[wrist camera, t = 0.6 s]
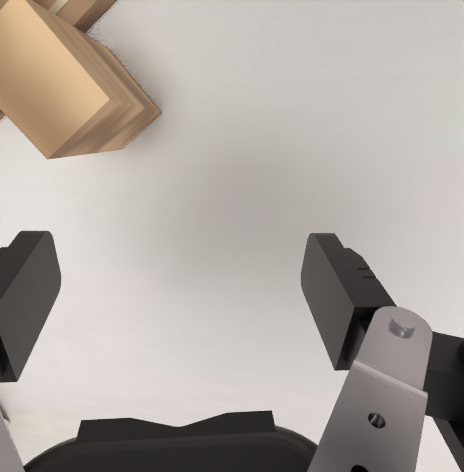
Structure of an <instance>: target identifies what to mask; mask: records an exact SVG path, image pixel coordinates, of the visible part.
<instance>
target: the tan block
mask: <svg viewBox="0 0 464 472" xmlns="http://www.w3.org/2000/svg"><path fill="white" fill-rule="evenodd" d="M0 109H1V110H2V111H3V112H4V113H5V114H6V115H7V117H8V118H9V119H10V120H11V121H12V122H13V123H14V124H15V125H16V126H17V127H18V128H19V129H20V131H21V132H22V133H23V134H24V135H25V136H26V137H27V138H28V139H29V140H30V141H31V142H32V143H33V144H34V146H35V147H36V148H37V149H38V150H39V151H40V152H41V153H42V154H43V155H44V156H45V157H46V158H47V159H54V158H61V157H69V156H76V155H83V154H91V153H98V152H106V151H113V150H121V149H123V148H124V147H125V146H126V145H127V144H128V143H129V142H130V141H132V140H133V139H134V138H135V137H136V136H137V135H138V134H139V133H140V132H141V131H142V130H144V129H145V128H146V127H147V126H148V125H149V124H150V123H151V122H152V121H153V120H155V119H156V118H157V117H158V116H159V115H160V114H161V113H162V112H161V111H160V110H159V108H158V107H157V106H156V105H155V103H154V102H153V101H152V100H151V99H150V97H149V96H148V95H147V94H146V93H145V91H144V90H143V89H142V88H141V87H140V85H139V84H138V83H137V82H136V81H135V79H134V78H133V77H132V76H131V75H130V73H129V72H128V71H127V70H126V69H125V67H124V66H123V65H122V64H121V62H120V61H119V60H118V59H117V58H116V56H115V55H114V54H113V53H112V52H111V50H110V49H108V48H107V47H105V46H104V45H102V44H101V43H99V42H97V41H96V40H94V39H93V38H91V37H89V36H88V35H86V34H85V33H83V32H82V31H80V30H78V29H77V28H75V27H74V26H72V25H70V24H69V23H67V22H66V21H64V20H63V19H61V18H59V17H58V16H56V15H55V14H53V13H52V12H50V11H48V10H47V9H45V8H44V7H42V6H40V5H39V4H37V3H36V2H34V1H33V0H0Z"/></svg>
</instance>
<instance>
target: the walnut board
mask: <svg viewBox="0 0 464 472" xmlns="http://www.w3.org/2000/svg"><path fill="white" fill-rule="evenodd" d="M33 1H34V2H36V3H37V4H39V5H40V6H42V7H44V8H45V9H47V10H48V11H50V12H52V13H53V14H55V15H56V16H58V17H59V18H61V19H63V20H64V21H66V22H67V23H69V24H70V25H72V26H74V27H75V28H77V29H78V30H80V31H82V32H83V33H85V32H86V31H87V30H88V29H89V28H90V27H91V26H92V25H93V24H94V23H95V22H96V21H97V20H98V19H99V18H100V17H101V16H102V15H103V14H104V13H105V12H106V11H107V10H108V9H109V8H110V6H111V5H112V4H113V3H114V2H115V1H116V0H33ZM4 115H5V113H4V112H3V111H2V110H1V109H0V119H1V118H2V117H3V116H4Z"/></svg>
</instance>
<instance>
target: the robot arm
mask: <svg viewBox="0 0 464 472" xmlns="http://www.w3.org/2000/svg"><path fill="white" fill-rule="evenodd" d="M60 286H61V272H60V268H59V263H58V259H57V254H56V250H55V245H54V240H53V237H52V234H51V233H50V232H49V231H21V232H19V234H18V235H17V236H16V237H15V239H14V240H13V241H12V243H11V244H10V245H9V246H8V247H1V248H0V383H1V382H17V381H18V379H19V377H20V375H21V373H22V371H23V369H24V366H25V364H26V362H27V360H28V358H29V356H30V354H31V351H32V349H33V347H34V345H35V343H36V341H37V339H38V337H39V334H40V332H41V330H42V328H43V326H44V324H45V322H46V319H47V317H48V315H49V313H50V311H51V309H52V307H53V304H54V302H55V300H56V298H57V296H58V294H59V291H60ZM301 286H302V290H303V293H304V295H305V298H306V300H307V303H308V305H309V308H310V310H311V313H312V315H313V318H314V320H315V323H316V325H317V328H318V330H319V333H320V335H321V338H322V340H323V342H324V345H325V347H326V350H327V352H328V355H329V357H330V360H331V362H332V365H333V367H334V370H335V371H337V370H349V373H348V375H347V378H346V380H345V383H344V385H343V387H342V390H341V392H340V395H339V397H338V399H337V402H336V404H335V407H334V409H333V411H332V414H331V416H330V419H329V421H328V423H327V426H326V428H325V431H324V433H323V435H322V438H321V440H320V443H319V445H316V444H315V443H314V442H312V441H311V440H309V439H308V438H306V437H304V436H303V435H300V434H298V433H296V432H294V431H292V430H289V429H286V428H283V427H279V426H275V424H274V419H273V414H272V411H253V412H233V413H225V414H222V415H218V416H215V417H212V418H209V419H205V420H202V421H199V422H196V423H192V424H189V425H186V426H182V427H173V426H169V425H164V424H159V423H154V422H149V421H144V420H139V419H134V418H117V419H97V420H81V424H80V427H79V431H78V435H77V437H75V438H72V439H69V440H66V441H64V442H62V443H59V444H57V445H55V446H53V447H51V448H50V449H48V450H46V451H44V452H43V453H41V454H40V455H38V456H37V457H35V458H33V459H32V460H31V461H30V462H28V463H27V464H26V465H23V463H22V461H21V458H20V456H19V454H18V451H17V449H16V446H15V444H14V442H13V439H12V437H11V435H10V432H9V430H8V427H7V425H6V423H5V420H4V418H3V416H2V413H1V411H0V472H415V469H416V463H417V457H418V451H419V445H420V439H421V434H422V428H423V422H424V416H425V415H427V416H431V417H432V418H433V419H434V421H435V423H436V425H437V427H438V429H439V431H440V432H441V434H442V436H443V438H444V440H445V442H446V444H447V446H448V447H449V449H450V451H451V453H452V455H453V457H454V459H455V461H456V462H457V464H458V466H459V468H460V470H461V472H464V338H460V337H455V336H451V335H446V334H441V333H437V332H433V331H432V330H431V328H430V326H429V325H428V323H427V322H426V321H425V320H424V319H423V318H421V317H420V316H419V315H417V314H415V313H414V312H412V311H409V310H407V309H404V308H400V307H397V306H396V304H395V303H394V302H393V300H392V299H391V297H390V296H389V295H388V293H387V292H386V290H385V289H384V287H383V286H382V285H381V283H380V282H379V280H378V279H376V276H375V275H374V273H373V272H372V270H370V267H369V266H368V265H367V263H366V262H365V260H364V259H363V257H361V256H360V255H359V254H357V253H356V252H354V251H353V250H352V249H350V248H344V247H343V245H342V244H341V242H340V241H339V239H338V238H337V236H336V235H335V234H334V233H311V234H310V235H309V237H308V241H307V246H306V251H305V256H304V261H303V266H302V271H301Z"/></svg>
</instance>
